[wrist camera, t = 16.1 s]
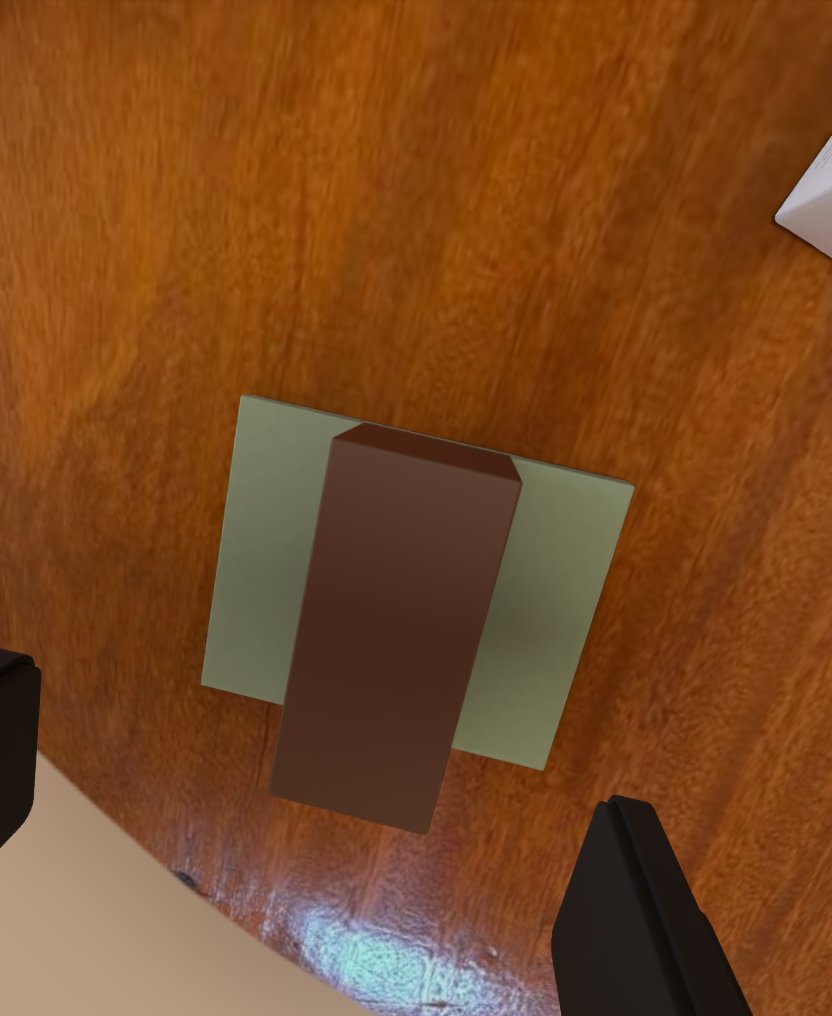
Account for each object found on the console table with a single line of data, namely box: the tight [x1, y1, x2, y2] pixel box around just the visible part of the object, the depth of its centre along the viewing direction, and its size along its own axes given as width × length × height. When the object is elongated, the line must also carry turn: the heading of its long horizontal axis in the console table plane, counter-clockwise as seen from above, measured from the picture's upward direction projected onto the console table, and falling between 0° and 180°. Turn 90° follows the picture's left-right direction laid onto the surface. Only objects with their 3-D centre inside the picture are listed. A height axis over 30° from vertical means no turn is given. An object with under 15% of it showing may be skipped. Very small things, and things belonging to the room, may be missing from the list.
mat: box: [201, 394, 635, 770], centre depth 18 cm, size 12×10×1 cm
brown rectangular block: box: [267, 423, 523, 835], centre depth 16 cm, size 4×10×4 cm, turn 168°
